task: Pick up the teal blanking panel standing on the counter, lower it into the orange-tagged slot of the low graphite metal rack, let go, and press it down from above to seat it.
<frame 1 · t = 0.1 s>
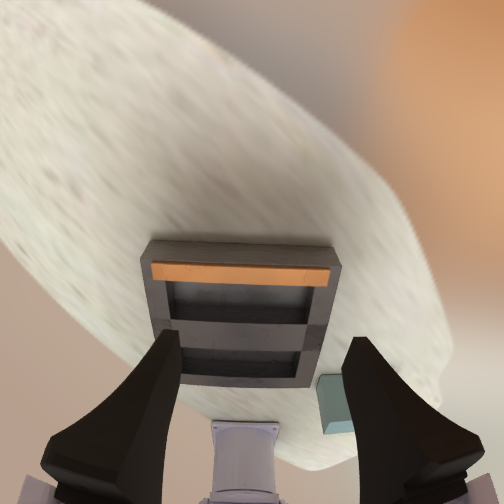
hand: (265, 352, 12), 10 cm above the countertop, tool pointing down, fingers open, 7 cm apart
blanking panel: (355, 380, 29), on the countertop
panel rack: (239, 315, 24), on the countertop
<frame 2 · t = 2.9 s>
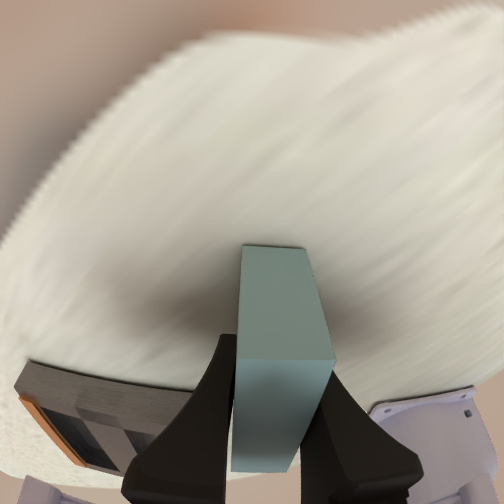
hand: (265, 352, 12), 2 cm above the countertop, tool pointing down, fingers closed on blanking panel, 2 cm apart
blanking panel: (264, 326, 14), on the countertop, touching gripper
panel rack: (128, 428, 19), on the countertop
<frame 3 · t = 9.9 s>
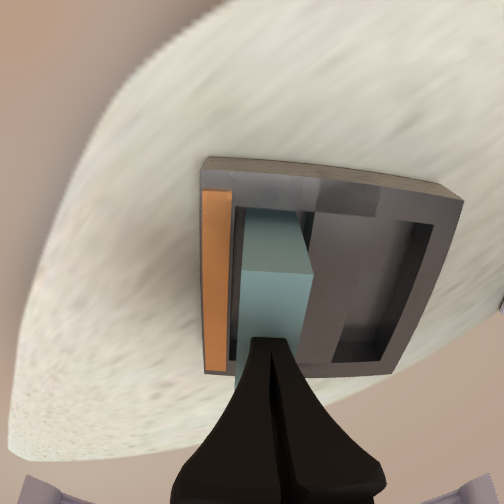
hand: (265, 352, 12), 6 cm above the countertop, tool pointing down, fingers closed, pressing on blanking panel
blanking panel: (263, 278, 17), point 1 cm above the countertop, touching gripper, panel rack
panel rack: (318, 275, 18), on the countertop
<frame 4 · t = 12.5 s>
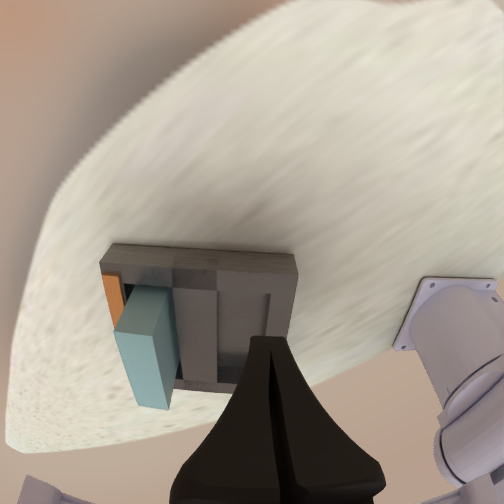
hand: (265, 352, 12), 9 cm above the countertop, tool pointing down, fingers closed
blanking panel: (160, 321, 23), point 1 cm above the countertop, touching panel rack
panel rack: (201, 320, 24), on the countertop
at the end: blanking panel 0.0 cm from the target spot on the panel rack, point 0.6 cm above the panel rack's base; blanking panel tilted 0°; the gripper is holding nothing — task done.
